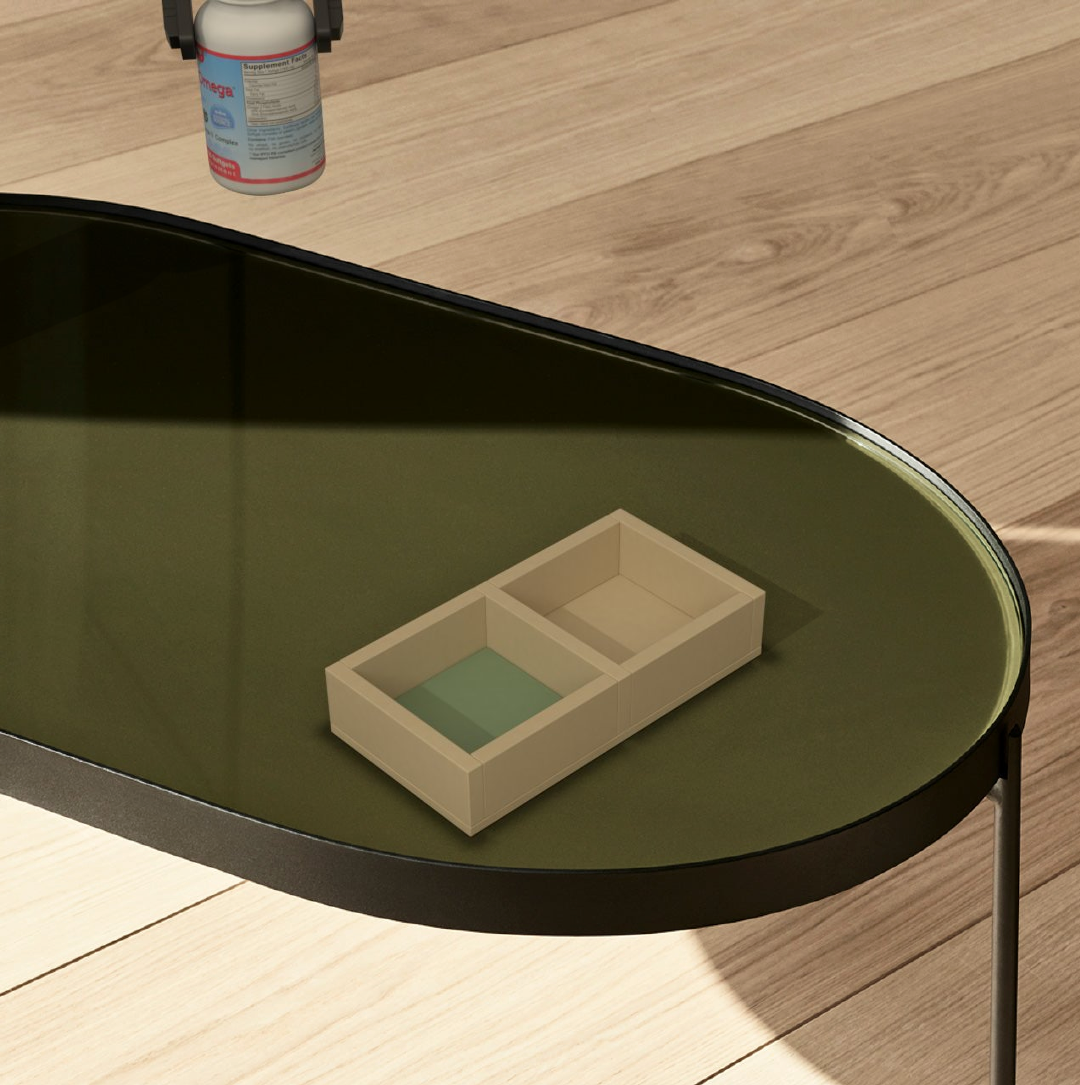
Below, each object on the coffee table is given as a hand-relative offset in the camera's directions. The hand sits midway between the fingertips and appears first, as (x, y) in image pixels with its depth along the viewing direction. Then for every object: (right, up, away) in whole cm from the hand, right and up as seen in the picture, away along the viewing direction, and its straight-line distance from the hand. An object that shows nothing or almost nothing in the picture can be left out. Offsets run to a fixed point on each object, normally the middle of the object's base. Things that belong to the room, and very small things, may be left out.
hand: (257, 49), depth 97 cm
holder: (+14, -32, -11) cm, 37 cm away
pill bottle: (0, -5, +6) cm, 8 cm away
